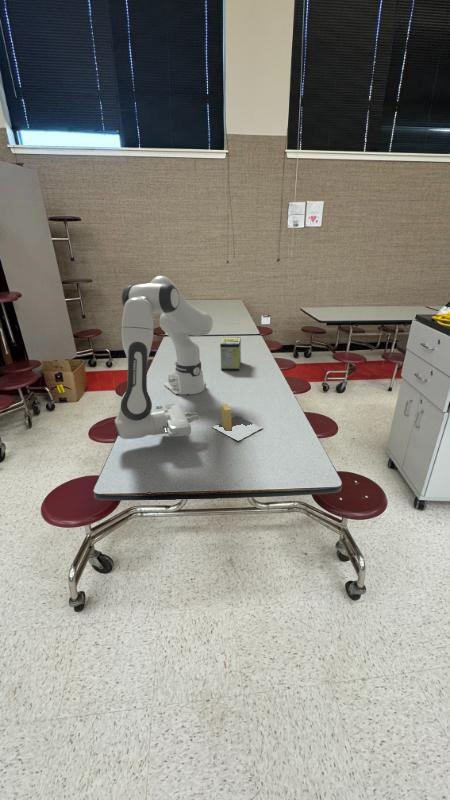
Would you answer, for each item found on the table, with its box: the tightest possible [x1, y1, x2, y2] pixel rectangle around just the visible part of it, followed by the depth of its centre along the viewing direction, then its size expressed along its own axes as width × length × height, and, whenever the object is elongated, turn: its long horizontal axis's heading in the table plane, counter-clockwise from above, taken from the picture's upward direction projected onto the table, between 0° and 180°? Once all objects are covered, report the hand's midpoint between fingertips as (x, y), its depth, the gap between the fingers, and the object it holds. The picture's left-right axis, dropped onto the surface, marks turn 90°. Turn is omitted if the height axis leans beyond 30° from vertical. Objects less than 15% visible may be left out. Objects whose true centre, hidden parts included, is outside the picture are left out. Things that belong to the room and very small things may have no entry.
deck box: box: [220, 403, 232, 431], centre depth 140 cm, size 2×5×10 cm, turn 18°
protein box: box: [219, 336, 242, 372], centre depth 205 cm, size 10×16×16 cm
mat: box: [216, 414, 254, 427], centre depth 143 cm, size 15×14×1 cm
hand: (197, 415), depth 136 cm, fingers closed
